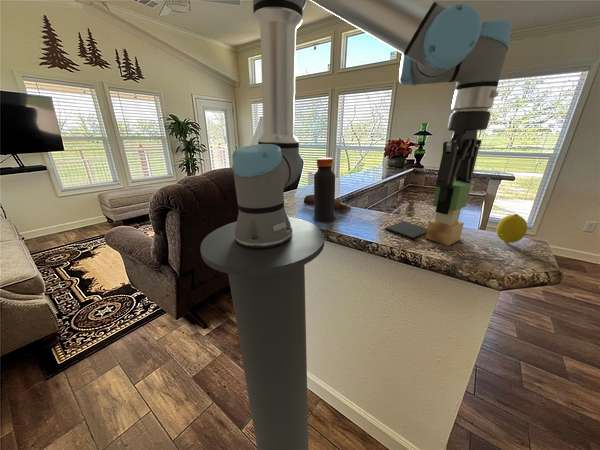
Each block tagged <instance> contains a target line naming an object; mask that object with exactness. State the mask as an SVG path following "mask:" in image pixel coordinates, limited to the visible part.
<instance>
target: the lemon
mask: <svg viewBox="0 0 600 450" xmlns="http://www.w3.org/2000/svg"><path fill="white" fill-rule="evenodd" d="M527 230H528V224H527V221H526V219H525V218H523V217H522V216H521V215H519V214H518V213H513V214H508V215H505V216H504V217H502V218H501V219H500V220H499V222H498V223H497V226H496V235H497V237H498V238H499V239H500V240H501V241H503V242H504V244H511V243H517V242H519V241H521V240H522V239H523V238H524V237H525V236H526V233H527ZM501 234H502V235H501Z"/></svg>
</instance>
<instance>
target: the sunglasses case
mask: <svg viewBox="0 0 600 450" xmlns="http://www.w3.org/2000/svg"><path fill="white" fill-rule="evenodd" d="M303 203H304V205H307V204H308V205H313V206H314V194H307V195H306V196H305V197H304V198H303ZM350 209H351V206H349V205H348V204H346V203H343V202H341V201H340V200H339V199H337V198H335V203H334V211H339V212H340V213H345V212H347V211H349V210H350Z"/></svg>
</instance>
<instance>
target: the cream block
mask: <svg viewBox="0 0 600 450" xmlns="http://www.w3.org/2000/svg"><path fill="white" fill-rule="evenodd" d="M461 211H462V208H461V209H458V210H456V211H454V210H449V212H448V214H447V215H446V214H442V213H438V212H436V211H435V217H434V219H435V222H439V223H442V224H446V225H450V226H451V225H453V224H455V223H457V222H458V221H459V219H460V216H461Z"/></svg>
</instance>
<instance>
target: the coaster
mask: <svg viewBox="0 0 600 450" xmlns="http://www.w3.org/2000/svg"><path fill="white" fill-rule="evenodd" d="M427 228H428V227H424V226H421V225H418V224H414V223H411V222H408V221H404V220H402V221H399V222H397V223H394V224H391V225H389V226H386V227H385V228H384V230H386V231H388V232H392V233H394V234H397V235H400V236H402V237H405V238H408V239H410V240H415V239H417V238H419V237H421V236H424V235H426V233H427Z"/></svg>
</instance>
